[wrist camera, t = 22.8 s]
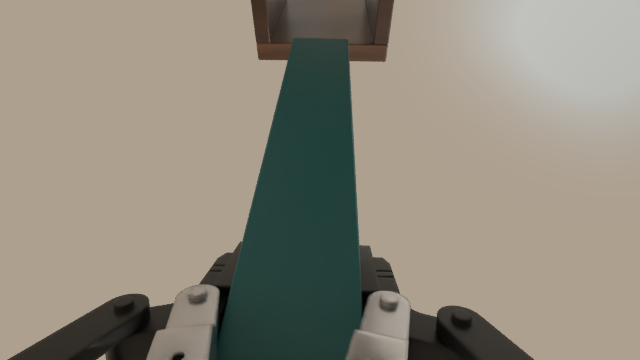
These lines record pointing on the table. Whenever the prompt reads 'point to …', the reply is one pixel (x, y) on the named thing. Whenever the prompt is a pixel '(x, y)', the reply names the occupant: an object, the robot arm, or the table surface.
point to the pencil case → (301, 222)
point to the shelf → (323, 25)
